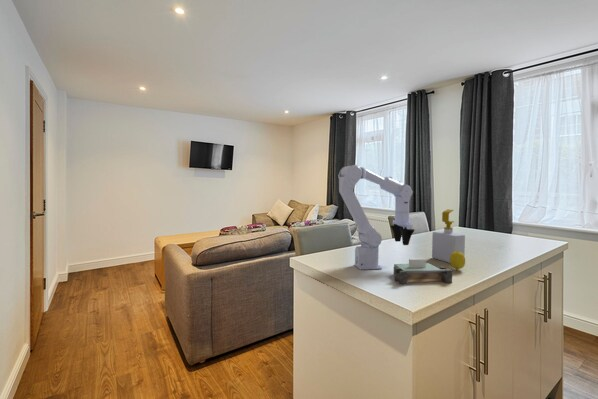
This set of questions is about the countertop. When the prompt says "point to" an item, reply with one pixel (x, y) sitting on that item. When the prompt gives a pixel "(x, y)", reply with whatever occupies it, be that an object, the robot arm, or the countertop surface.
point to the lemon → (457, 260)
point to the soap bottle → (447, 240)
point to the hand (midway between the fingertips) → (401, 243)
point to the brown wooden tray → (422, 276)
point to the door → (419, 267)
